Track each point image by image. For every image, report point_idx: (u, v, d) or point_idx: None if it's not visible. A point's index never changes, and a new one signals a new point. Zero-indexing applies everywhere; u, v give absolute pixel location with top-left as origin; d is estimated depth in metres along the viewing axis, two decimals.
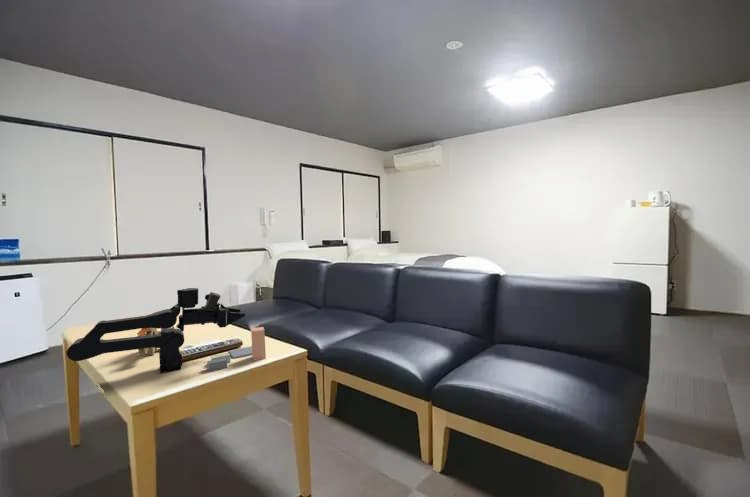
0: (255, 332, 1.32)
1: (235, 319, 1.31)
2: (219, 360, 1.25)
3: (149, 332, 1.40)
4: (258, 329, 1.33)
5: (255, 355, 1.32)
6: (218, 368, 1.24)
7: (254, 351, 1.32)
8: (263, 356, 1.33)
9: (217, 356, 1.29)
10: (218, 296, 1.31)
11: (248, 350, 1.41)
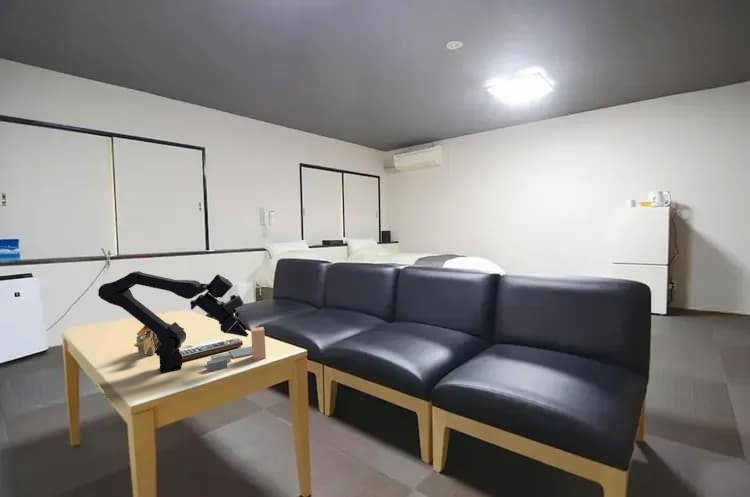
0: (255, 332, 1.32)
1: (237, 333, 1.26)
2: (219, 360, 1.25)
3: (149, 332, 1.40)
4: (258, 329, 1.33)
5: (255, 355, 1.32)
6: (218, 368, 1.24)
7: (254, 351, 1.32)
8: (263, 356, 1.33)
9: (217, 356, 1.29)
10: (241, 303, 1.29)
11: (248, 350, 1.41)
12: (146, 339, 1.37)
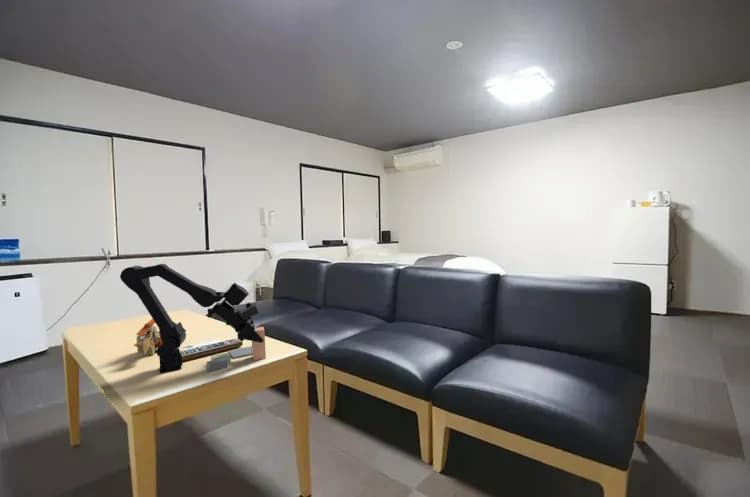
0: None
1: (253, 339, 1.30)
2: (219, 360, 1.25)
3: (149, 332, 1.40)
4: (258, 329, 1.33)
5: (255, 354, 1.32)
6: (219, 368, 1.24)
7: (254, 351, 1.32)
8: (263, 356, 1.33)
9: (217, 356, 1.29)
10: (257, 311, 1.32)
11: (248, 350, 1.41)
12: (146, 339, 1.37)
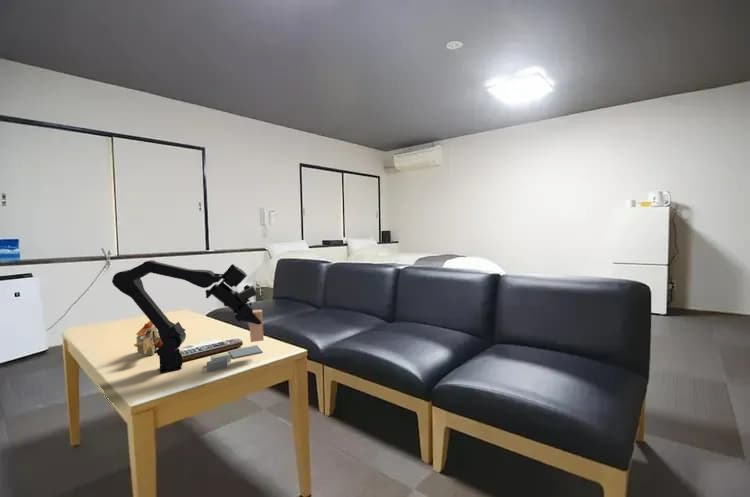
0: None
1: (250, 321, 1.30)
2: (219, 360, 1.25)
3: (149, 332, 1.40)
4: (256, 311, 1.33)
5: (252, 336, 1.32)
6: (219, 368, 1.24)
7: (252, 333, 1.32)
8: (261, 338, 1.33)
9: (217, 356, 1.29)
10: (255, 293, 1.32)
11: (248, 350, 1.41)
12: (146, 339, 1.37)
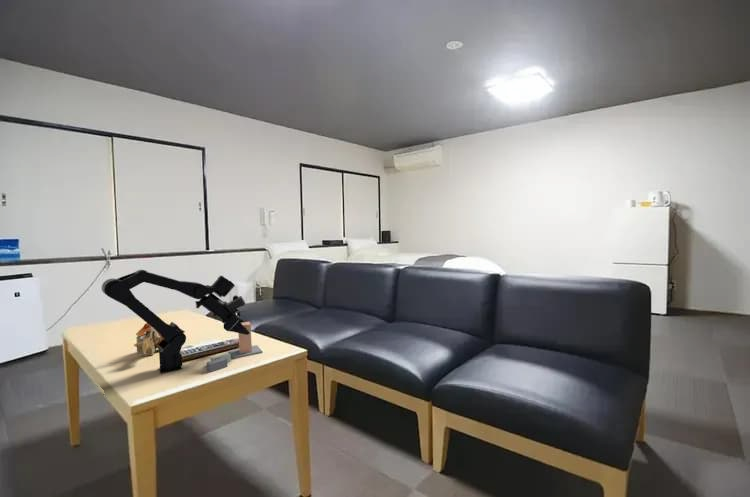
0: None
1: (239, 331, 1.34)
2: (219, 360, 1.25)
3: (148, 332, 1.40)
4: (244, 324, 1.39)
5: (241, 348, 1.38)
6: (219, 368, 1.24)
7: (240, 345, 1.38)
8: (249, 349, 1.39)
9: (217, 356, 1.29)
10: (243, 303, 1.37)
11: None
12: (145, 339, 1.37)
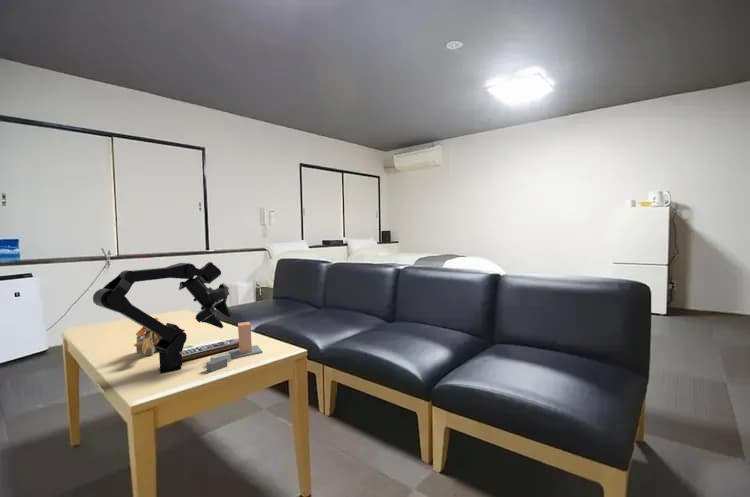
0: (241, 326, 1.38)
1: (212, 323, 1.32)
2: (219, 360, 1.25)
3: (148, 332, 1.40)
4: (244, 324, 1.39)
5: (241, 348, 1.38)
6: (219, 368, 1.24)
7: (240, 345, 1.38)
8: (249, 349, 1.39)
9: (218, 356, 1.29)
10: (224, 297, 1.33)
11: None
12: (145, 339, 1.37)
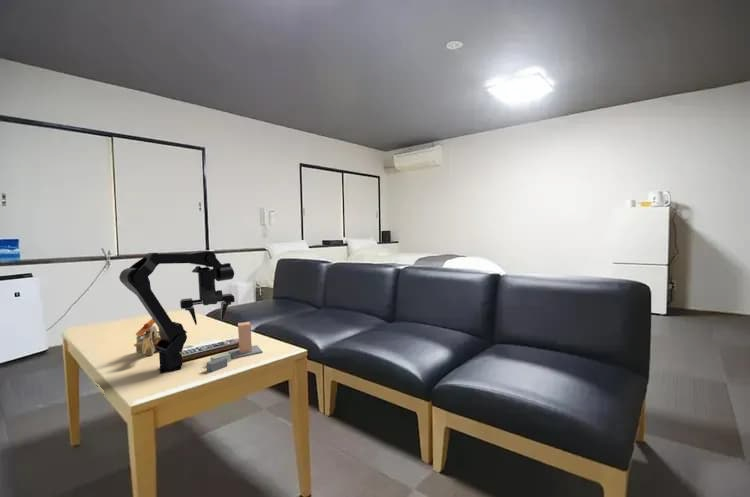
0: (241, 326, 1.38)
1: None
2: (219, 360, 1.25)
3: (148, 332, 1.40)
4: (244, 324, 1.39)
5: (241, 348, 1.38)
6: (220, 367, 1.24)
7: (240, 345, 1.38)
8: (249, 349, 1.39)
9: (218, 356, 1.29)
10: (203, 303, 1.30)
11: None
12: (145, 339, 1.37)
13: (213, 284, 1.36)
